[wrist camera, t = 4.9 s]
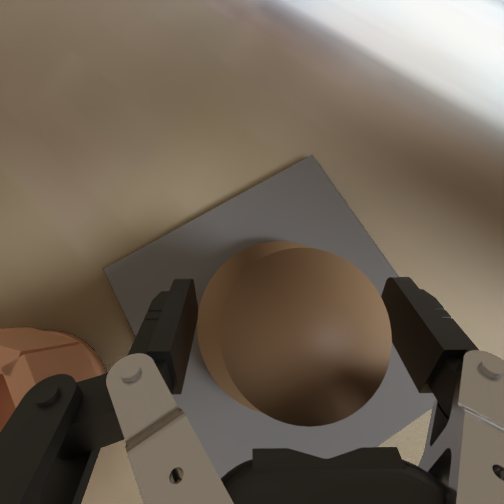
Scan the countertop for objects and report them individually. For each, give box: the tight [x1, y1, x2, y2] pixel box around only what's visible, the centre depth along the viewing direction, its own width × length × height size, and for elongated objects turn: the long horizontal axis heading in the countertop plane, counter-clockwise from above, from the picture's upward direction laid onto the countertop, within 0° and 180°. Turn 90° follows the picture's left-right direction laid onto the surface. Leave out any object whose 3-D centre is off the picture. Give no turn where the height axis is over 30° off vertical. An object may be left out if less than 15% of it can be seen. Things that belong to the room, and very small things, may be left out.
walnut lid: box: [197, 241, 392, 427], centre depth 12 cm, size 9×9×8 cm
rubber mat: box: [103, 155, 436, 479], centre depth 16 cm, size 15×16×1 cm
